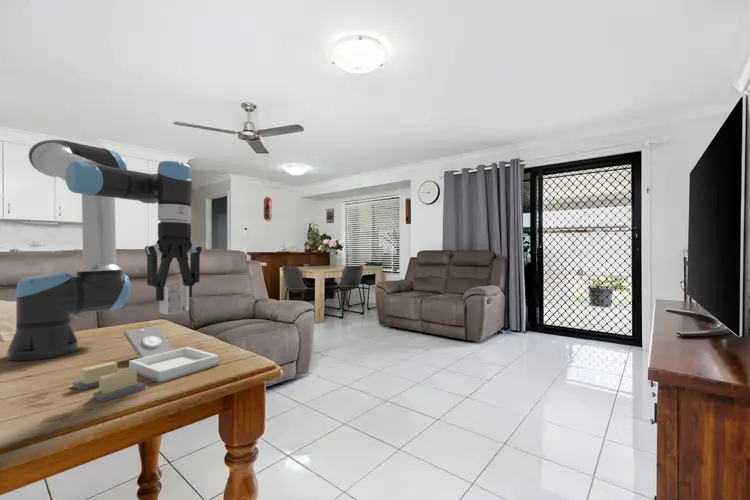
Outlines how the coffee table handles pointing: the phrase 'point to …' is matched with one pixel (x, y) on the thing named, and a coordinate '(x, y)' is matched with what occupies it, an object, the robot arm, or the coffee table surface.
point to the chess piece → (174, 299)
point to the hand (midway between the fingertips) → (174, 311)
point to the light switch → (147, 341)
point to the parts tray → (173, 363)
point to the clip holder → (109, 381)
